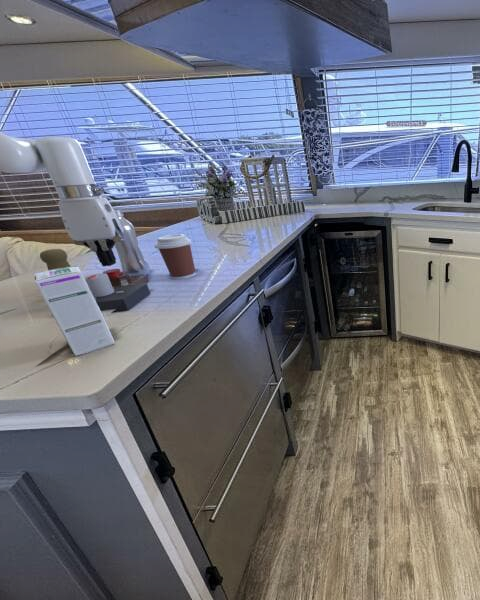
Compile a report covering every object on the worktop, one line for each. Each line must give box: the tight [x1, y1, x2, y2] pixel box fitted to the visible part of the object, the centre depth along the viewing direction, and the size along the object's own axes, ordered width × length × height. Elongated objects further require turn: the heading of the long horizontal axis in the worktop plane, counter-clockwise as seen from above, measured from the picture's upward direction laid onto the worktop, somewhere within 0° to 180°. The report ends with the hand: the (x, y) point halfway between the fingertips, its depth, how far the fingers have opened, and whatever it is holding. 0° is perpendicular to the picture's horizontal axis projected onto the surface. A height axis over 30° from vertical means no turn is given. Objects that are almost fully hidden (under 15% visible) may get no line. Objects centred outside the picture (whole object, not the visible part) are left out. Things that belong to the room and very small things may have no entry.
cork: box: [39, 248, 72, 271], centre depth 90 cm, size 6×6×11 cm
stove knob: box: [83, 272, 114, 297], centre depth 76 cm, size 4×4×5 cm
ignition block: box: [109, 271, 149, 287], centre depth 88 cm, size 11×9×4 cm
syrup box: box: [33, 265, 115, 357], centre depth 57 cm, size 6×6×14 cm
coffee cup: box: [154, 233, 197, 280], centre depth 95 cm, size 9×9×12 cm
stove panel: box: [94, 282, 151, 313], centre depth 77 cm, size 14×11×3 cm
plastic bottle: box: [112, 208, 151, 276], centre depth 95 cm, size 6×7×20 cm
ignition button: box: [102, 268, 122, 278], centre depth 87 cm, size 4×4×2 cm
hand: (109, 264), depth 86 cm, fingers closed
